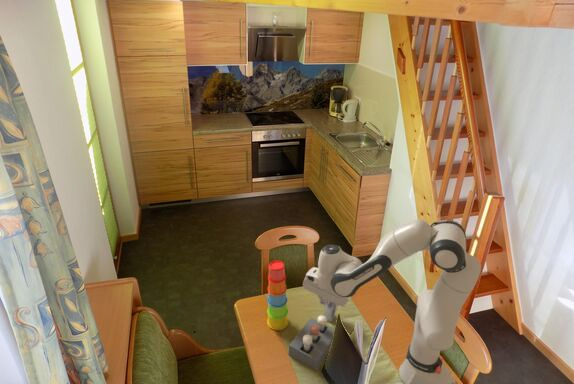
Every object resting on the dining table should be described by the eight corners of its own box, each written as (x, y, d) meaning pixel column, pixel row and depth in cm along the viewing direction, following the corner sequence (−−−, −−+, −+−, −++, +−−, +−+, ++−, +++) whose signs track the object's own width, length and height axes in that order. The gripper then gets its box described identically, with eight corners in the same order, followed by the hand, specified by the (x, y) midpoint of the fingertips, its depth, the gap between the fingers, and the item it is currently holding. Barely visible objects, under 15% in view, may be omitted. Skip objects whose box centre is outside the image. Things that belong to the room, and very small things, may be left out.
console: (336, 340, 175) (337, 330, 172) (316, 370, 161) (317, 361, 158) (309, 326, 182) (310, 317, 179) (288, 354, 167) (289, 345, 165)
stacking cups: (274, 334, 177) (276, 276, 160) (263, 319, 184) (264, 262, 168) (292, 325, 182) (296, 268, 165) (281, 311, 189) (284, 255, 173)
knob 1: (313, 347, 164) (314, 337, 161) (308, 354, 161) (309, 343, 158) (305, 343, 166) (306, 333, 163) (300, 349, 163) (301, 339, 160)
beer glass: (335, 323, 184) (339, 300, 177) (321, 321, 185) (324, 298, 178) (337, 313, 190) (340, 290, 183) (323, 310, 191) (325, 287, 184)
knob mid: (320, 337, 169) (321, 327, 166) (315, 343, 166) (317, 333, 163) (312, 333, 171) (313, 323, 168) (307, 339, 168) (308, 329, 165)
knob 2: (326, 327, 174) (328, 317, 171) (322, 333, 171) (324, 323, 168) (319, 324, 176) (320, 314, 173) (315, 329, 173) (316, 319, 170)
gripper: (352, 285, 157) (348, 309, 164) (309, 265, 166) (307, 289, 173) (346, 293, 153) (342, 318, 159) (302, 273, 162) (299, 297, 168)
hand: (323, 303), depth 166 cm, fingers closed
